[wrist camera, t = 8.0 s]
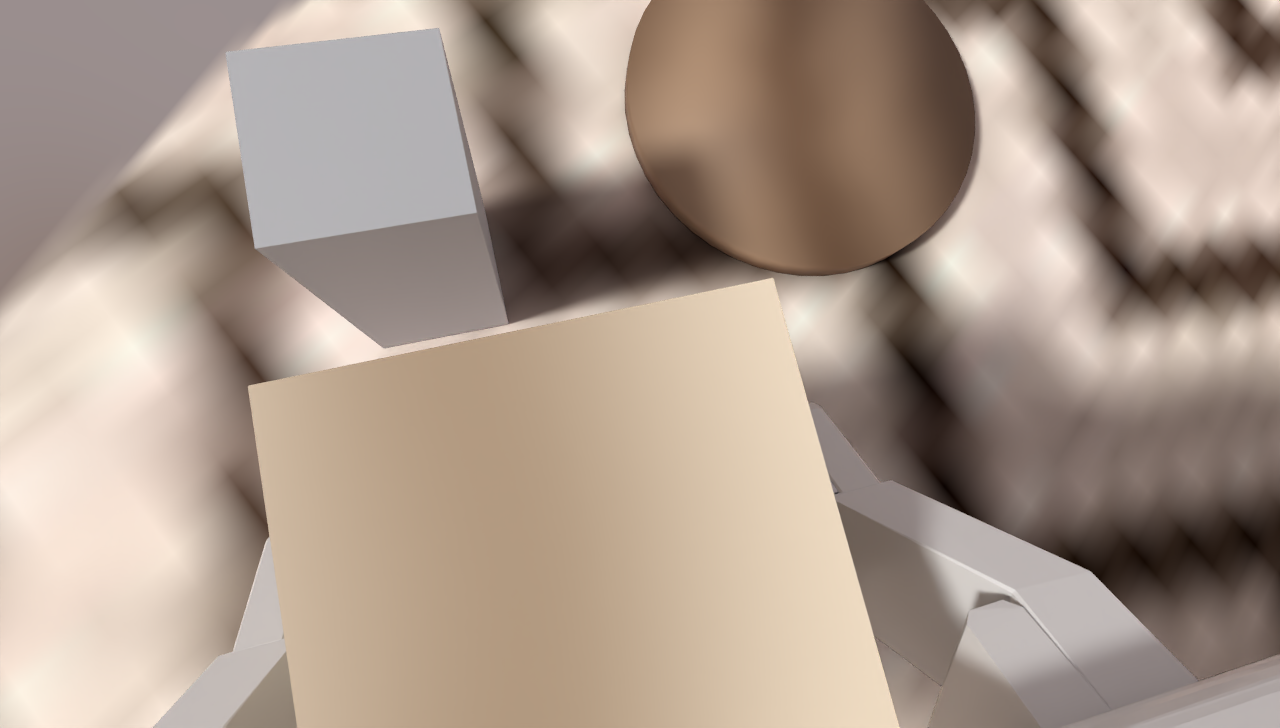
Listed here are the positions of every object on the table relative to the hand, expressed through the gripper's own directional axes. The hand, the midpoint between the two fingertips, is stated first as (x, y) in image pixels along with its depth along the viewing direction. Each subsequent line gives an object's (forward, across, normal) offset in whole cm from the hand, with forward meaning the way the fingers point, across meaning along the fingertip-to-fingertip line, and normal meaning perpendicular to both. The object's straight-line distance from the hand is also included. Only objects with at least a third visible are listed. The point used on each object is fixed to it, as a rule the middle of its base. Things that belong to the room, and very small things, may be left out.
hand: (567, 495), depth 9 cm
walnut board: (+17, -11, 0) cm, 20 cm away
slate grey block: (+14, +3, +3) cm, 14 cm away
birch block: (+3, 0, +4) cm, 5 cm away
